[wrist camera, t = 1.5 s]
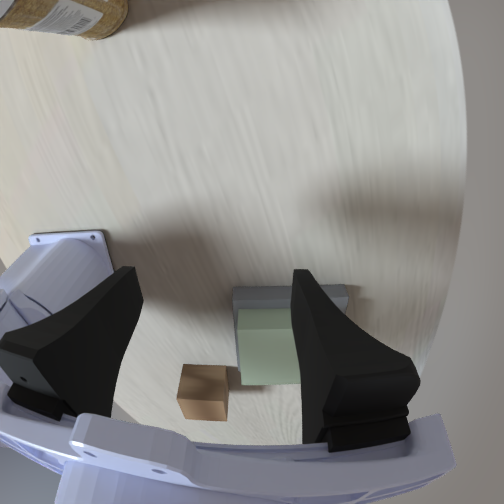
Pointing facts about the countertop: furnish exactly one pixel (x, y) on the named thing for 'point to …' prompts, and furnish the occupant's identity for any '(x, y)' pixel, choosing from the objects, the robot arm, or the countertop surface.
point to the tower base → (277, 300)
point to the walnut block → (204, 392)
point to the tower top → (267, 347)
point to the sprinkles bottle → (65, 16)
